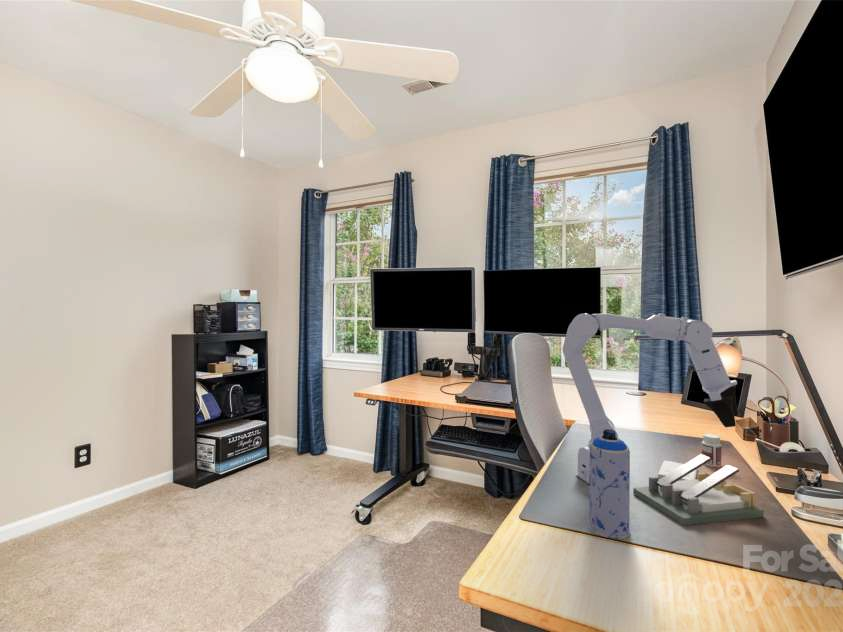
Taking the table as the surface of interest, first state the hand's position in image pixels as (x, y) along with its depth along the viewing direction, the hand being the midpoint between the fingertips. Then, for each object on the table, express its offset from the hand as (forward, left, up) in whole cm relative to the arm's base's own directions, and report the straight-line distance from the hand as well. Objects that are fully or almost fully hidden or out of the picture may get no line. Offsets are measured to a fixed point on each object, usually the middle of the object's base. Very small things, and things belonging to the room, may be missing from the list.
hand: (731, 421), depth 98 cm
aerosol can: (-38, -7, -18) cm, 43 cm away
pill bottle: (+14, +19, -18) cm, 30 cm away
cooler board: (-12, -2, -18) cm, 22 cm away
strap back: (-12, +2, -12) cm, 17 cm away
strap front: (-12, -5, -12) cm, 18 cm away
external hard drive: (-1, +15, -19) cm, 24 cm away
